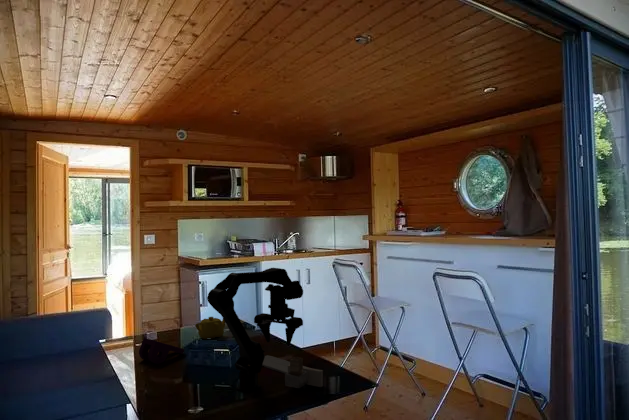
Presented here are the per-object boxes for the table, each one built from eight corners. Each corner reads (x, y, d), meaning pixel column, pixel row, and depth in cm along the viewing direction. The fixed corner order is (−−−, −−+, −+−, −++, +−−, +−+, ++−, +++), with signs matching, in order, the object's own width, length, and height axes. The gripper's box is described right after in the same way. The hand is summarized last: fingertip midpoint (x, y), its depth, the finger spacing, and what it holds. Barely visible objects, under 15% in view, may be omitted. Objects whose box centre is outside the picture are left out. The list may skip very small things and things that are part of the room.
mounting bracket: (170, 365, 203) (136, 357, 190) (177, 347, 205) (143, 337, 193) (182, 370, 197) (148, 361, 184) (189, 350, 199) (156, 341, 187)
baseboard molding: (272, 357, 196) (251, 364, 187) (272, 350, 196) (250, 357, 187) (326, 373, 175) (304, 382, 166) (325, 365, 175) (304, 374, 166)
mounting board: (320, 387, 159) (320, 371, 159) (287, 380, 166) (287, 365, 166) (323, 385, 160) (322, 370, 160) (290, 379, 167) (289, 364, 167)
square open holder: (299, 388, 154) (298, 376, 154) (285, 385, 157) (284, 373, 157) (310, 381, 161) (310, 369, 161) (297, 378, 164) (297, 367, 164)
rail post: (298, 383, 156) (297, 360, 156) (290, 382, 158) (290, 359, 158) (302, 380, 159) (302, 357, 159) (295, 379, 160) (294, 356, 161)
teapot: (204, 333, 235) (204, 313, 235) (228, 333, 233) (228, 313, 234) (194, 340, 222) (193, 319, 222) (219, 341, 220) (218, 320, 220)
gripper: (310, 300, 171) (310, 341, 171) (270, 296, 180) (270, 335, 180) (294, 305, 161) (295, 349, 161) (252, 301, 170) (253, 342, 170)
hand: (278, 343), depth 168 cm, fingers open, 9 cm apart
